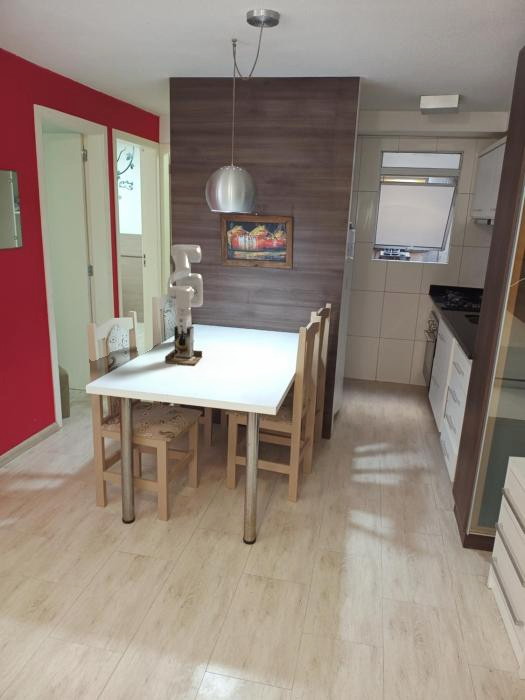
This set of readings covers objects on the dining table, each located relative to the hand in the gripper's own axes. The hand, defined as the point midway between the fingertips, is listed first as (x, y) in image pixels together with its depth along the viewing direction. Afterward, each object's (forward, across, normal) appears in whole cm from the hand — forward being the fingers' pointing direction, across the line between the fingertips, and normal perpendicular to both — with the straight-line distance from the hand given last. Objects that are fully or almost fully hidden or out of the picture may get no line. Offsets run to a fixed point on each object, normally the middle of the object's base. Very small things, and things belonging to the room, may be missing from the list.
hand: (184, 343), depth 285 cm
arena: (+9, -2, -1) cm, 9 cm away
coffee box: (+7, 0, 0) cm, 7 cm away
